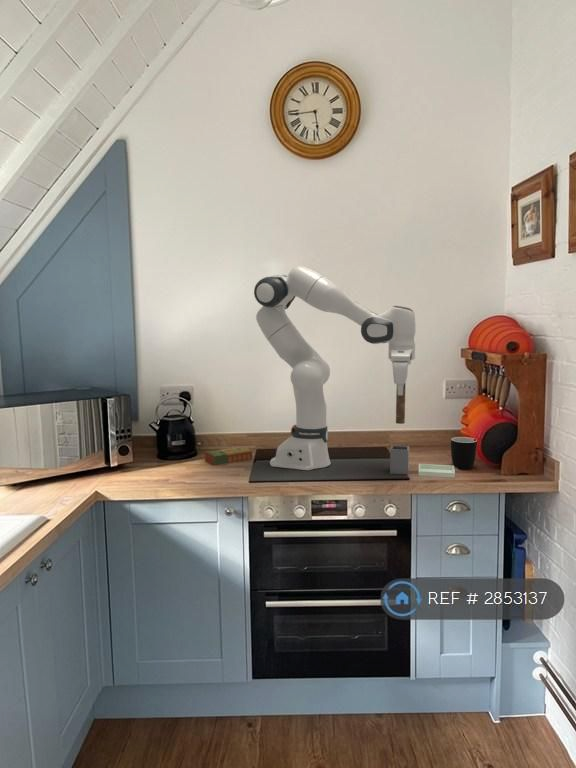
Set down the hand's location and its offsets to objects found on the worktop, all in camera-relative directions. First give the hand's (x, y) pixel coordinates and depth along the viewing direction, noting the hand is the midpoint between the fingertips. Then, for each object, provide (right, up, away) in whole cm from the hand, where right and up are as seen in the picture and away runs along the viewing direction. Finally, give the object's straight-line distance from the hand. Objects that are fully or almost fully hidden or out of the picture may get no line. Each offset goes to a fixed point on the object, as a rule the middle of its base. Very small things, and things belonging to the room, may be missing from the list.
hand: (400, 394), depth 206 cm
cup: (0, -28, +4) cm, 28 cm away
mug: (+24, -27, +12) cm, 38 cm away
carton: (-61, -26, +23) cm, 71 cm away
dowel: (0, -10, +1) cm, 10 cm away
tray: (+13, -28, +2) cm, 31 cm away
